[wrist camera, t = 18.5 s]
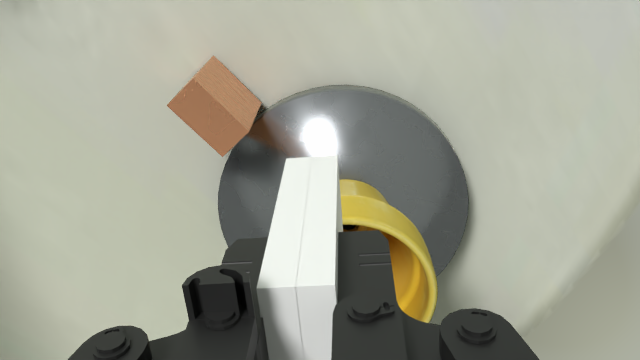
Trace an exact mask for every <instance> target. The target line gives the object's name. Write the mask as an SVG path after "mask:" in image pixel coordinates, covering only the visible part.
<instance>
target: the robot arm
mask: <svg viewBox="0 0 640 360" xmlns="http://www.w3.org/2000/svg"><path fill="white" fill-rule="evenodd" d="M182 288H183V293H184V298H185V303H186V307H187V312H188V317H189V322H188V325H187V328H186V330H184V331H182V332H180V333H177V334H174V335H171V336H168V337H164V338H160V339H156V340H152V341H148V337H147V334H146V333H145V332H144V331H143V330H142V329H140V328H137V327H134V326H117V327H113V328H109V329H105V330H103V331H101V332H99V333H97V334H95V335H93V336H92V337H90V338H89V339H88V340H87V341H85V342H84V343H83V344H82V345H81V346H80V347H79V348H78V349H77V350H76V351H75V352H74V354H73V355H72V356H71V357H70V358H69V359H68V360H539V359H538V357H537V356H536V355H535V354H534V352H533V351H532V350H531V349H530V347H529V346H528V345H527V344H526V342H525V341H524V340H523V339H522V338H521V336H520V335H519V334H518V333H517V331H516V330H515V329H514V328H513V326H512V325H511V324H510V323H509V322H508V321H506V320H505V319H504V318H503V317H502V316H500V315H497V314H495V313H493V312H490V311H487V310H481V309H461V310H459V311H456V312H453V313H450V314H449V315H448V316H447V317H445V318H444V319H443V320H442V322H441V325H436V324H430V323H426V322H422V321H418V320H416V319H414V318H412V317H410V316H408V315H407V314H406V313H404V312H403V311H402V310H401V308H400V307H399V305H398V303H397V299H396V292H395V285H394V278H393V270H392V265H391V256H390V249H389V242H388V239H387V238H386V237H385V236H384V235H383V234H382V233H381V232H380V231H379V230H370V231H351V232H343V223H342V209H341V195H340V182H339V168H338V155H333V156H317V157H300V158H286V162H285V166H284V170H283V175H282V179H281V184H280V188H279V192H278V197H277V201H276V205H275V210H274V214H273V219H272V223H271V227H270V232H269V236H268V237H265V238H246V239H237V240H236V241H235V242H234V243H233V244H232V245H231V246H230V247H229V248H228V249H227V250H226V252H225V255H224V257H223V260H222V265H220V266H214V267H208V268H206V269H203V270H200V271H198V272H196V273H194V274H193V275H191V276H190V277H188V278H187V279H186V281H185V282H184V283H183V285H182Z"/></svg>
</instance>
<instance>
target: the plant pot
mask: <svg viewBox="0 0 640 360" xmlns="http://www.w3.org/2000/svg"><path fill="white" fill-rule="evenodd" d="M339 182H340V195H341V209H342V223H343V225H357V226H356V227H355V228H354V229H352V230H345V229H343V232H351V231H370V230H379V231H380V232H381V233H382V234H383V235H384V236H385V237H386V238H387V239H388V242H389V249H390V256H391V265H392V270H393V278H394V285H395V292H396V299H397V303H398V305H399V307H400V308H401V310H402V311H403V312H404V313H406V314H407V315H408V316H410V317H412V318H414V319H416V320H418V321H422V322H426V323H429V322H430V320H431V318H432V316H433V313H434V310H435V307H436V302H437V295H438V291H437V279H436V275H435V271H434V267H433V264H432V260H431V257H430V254H429V252H428V249H427V246H426V244H425V242H424V239H423V238H422V236H421V234H420V232H419V231H418V229H417V228H416V226H415V225H414V224H413V223H412V222H411V221H410V220H409V219H408V218H407V217H406V216H405V215H404V214H403V213H401V212H400V211H398V210H397V209H396V208H394V207H392V206H390V205H389V203H388V202H387V201H386V199H385V198H384V196H383V195H382V194H381V193H380V192H379V191H378V190H376V189H375V188H374V187H372V186H370V185H369V184H366V183H364V182H360V181H357V180H350V179H342V180H339Z"/></svg>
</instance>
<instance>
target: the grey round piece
mask: <svg viewBox="0 0 640 360" xmlns="http://www.w3.org/2000/svg"><path fill="white" fill-rule="evenodd" d="M261 103H262V102H261V101H260V100H258V99H257V98H256V97H255V96H254V95H253V94H252V93H251V92H250V91H249V90H248V89H247V88H246V87H245V86H244V85H243V84H242V83H241V82H240V81H239V80H238V79H237V78H236V77H235V76H234V75H233V74H232V73H231V72H230V71H229V70H228V69H227V68H226V67H225V66H224V65H223V64H222V63H221V62H220V61H219V60H218V59H217V58H216V57H215V56H213V57H212V58H211V59H210V60H209V61H208V62H207V63H206V64H205V65H204V66H203V67H202V68H201V69H200V70H199V71H198V72H197V73H196V74H195V75H194V76H193V77H192V78H191V79H190V80H189V81H188V83H187V84H186V85H185V86H184V87H183V88H182V89H181V90H180V91H179V92H178V94H177V95H176V96H175V97H174V98H173V99H172V100H171V101H170V102H169V103H168V104H167V106H168V107H169V108H170V109H171V110H172V111H173V112H174V113H175V114H176V115H178V116H179V117H180V118H181V119H182V120H183V121H184V122H185V123H186V124H187V125H188V126H190V127H191V128H192V129H193V130H194V131H195V132H196V133H197V134H198V135H199V136H200V137H201V138H203V139H204V140H205V141H206V142H207V143H208V144H209V145H210V146H211V147H212V148H213V149H215V150H216V151H217V152H218V153H219V154H220V155H221V156H222V157H223V156H224V155H225V154H226V153H227V152H228V151H229V150H230V149H231V148H232V147H233V146H234V147H233V149H232V152H231V154H230V156H229V158H228V160H227V162H226V164H225V167H224V170H223V173H222V176H221V180H220V186H219V192H218V211H219V219H220V224H221V228H222V232H223V235H224V238H225V240H226V242H227V245H228V247H230V246H231V245H232V244H233V243H234V242H235V241H236V240H237V239H246V238H265V237H268V236H269V232H270V227H271V223H272V219H273V214H274V210H275V205H276V201H277V197H278V192H279V188H280V184H281V179H282V175H283V170H284V166H285V162H286V158H300V157H317V156H333V155H338V168H339V180H342V179H350V180H357V181H360V182H364V183H366V184H369V185H370V186H372V187H374V188H375V189H376V190H378V191H379V192H380V193H381V194H382V195H383V196H384V198H385V199H386V201H387V202H388V203H389V205H390V206H392V207H394V208H396V209H397V210H398V211H400V212H401V213H403V214H404V215H405V216H406V217H407V218H408V219H409V220H410V221H411V222H412V223H413V224H414V225H415V226H416V228H417V229H418V231H419V232H420V234H421V236H422V238H423V239H424V242H425V244H426V246H427V249H428V252H429V254H430V257H431V260H432V264H433V267H434V271H435V275H436V277H437V276H438V275H439V274H440V273H441V272H442V271H443V270H444V268H445V267H446V266H447V264H448V263H449V262H450V260H451V259H452V257H453V256H454V254H455V252H456V250H457V248H458V246H459V244H460V242H461V239H462V236H463V233H464V231H465V226H466V221H467V217H468V190H467V184H466V180H465V176H464V172H463V169H462V167H461V164H460V162H459V159H458V157H457V155H456V153H455V151H454V149H453V147H452V145H451V144H450V142H449V140H448V138H447V137H446V136H445V134H444V133H443V132H442V130H441V129H440V128H439V127H438V125H437V124H436V123H435V122H434V121H433V120H431V119H430V118H429V117H428V116H427V115H426V114H425V113H424V112H422V111H421V110H420V109H418V108H417V107H415V106H414V105H413V104H411V103H409V102H407V101H405V100H403V99H401V98H400V97H398V96H395V95H393V94H390V93H387V92H384V91H382V90H378V89H373V88H369V87H364V86H354V85H329V86H323V87H317V88H312V89H309V90H305V91H302V92H299V93H296V94H293V95H291V96H289V97H287V98H285V99H282V100H280V101H279V102H277V103H276V104H274V105H272V106H271V107H269V108H267V109H266V110H265V111H264V112H263V113H261V114H260V115H259V116H258V117H257V118H255V117H256V115H257V112H258V110H259V107H260V105H261ZM356 226H357V225H343V229H345V230H352V229H354V228H355V227H356Z"/></svg>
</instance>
